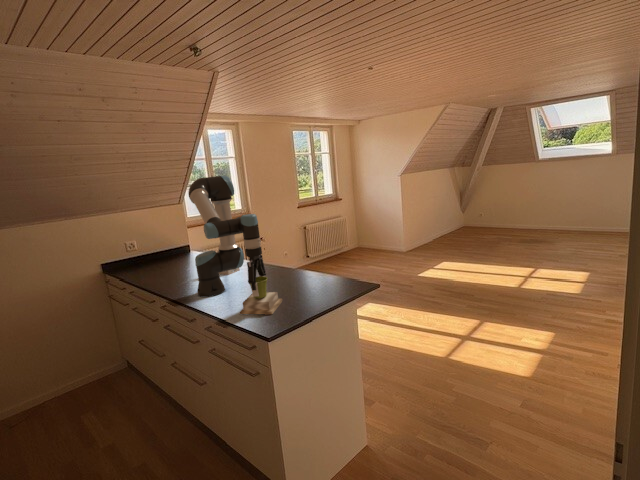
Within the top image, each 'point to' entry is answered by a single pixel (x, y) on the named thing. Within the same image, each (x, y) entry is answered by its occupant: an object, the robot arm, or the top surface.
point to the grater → (229, 270)
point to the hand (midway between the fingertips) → (259, 292)
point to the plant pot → (261, 286)
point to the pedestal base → (261, 304)
